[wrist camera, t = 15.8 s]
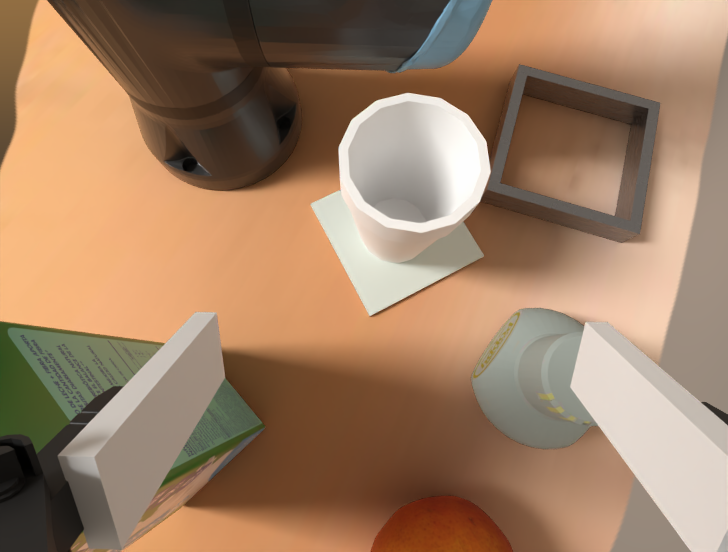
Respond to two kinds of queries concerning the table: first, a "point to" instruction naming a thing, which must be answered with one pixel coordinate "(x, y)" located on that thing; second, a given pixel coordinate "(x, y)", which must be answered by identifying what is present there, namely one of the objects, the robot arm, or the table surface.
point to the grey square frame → (596, 102)
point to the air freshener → (533, 380)
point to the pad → (385, 279)
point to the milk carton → (91, 378)
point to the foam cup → (411, 173)
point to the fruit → (440, 528)
